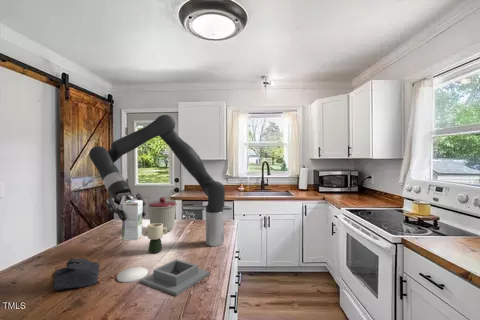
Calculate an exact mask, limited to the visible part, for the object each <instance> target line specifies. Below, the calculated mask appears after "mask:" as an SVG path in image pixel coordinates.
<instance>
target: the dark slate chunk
mask: <svg viewBox="0 0 480 320" xmlns="http://www.w3.org/2000/svg"><path fill="white" fill-rule="evenodd" d="M99 272H100V263H98V262H95V261H94V262H93V261H89V259H85V258H73V257H71V258H69V260H68V261H67V262H66V267H63V268H59V269H58V268H57V269H56V270H55V272H54V279H53V282H54V283H53V289H55V290H56V291H62V290H67V289H77V288H86V287H87V288H89V287H91V286H94V285H97V284H98V279H99V275H100V274H99Z"/></svg>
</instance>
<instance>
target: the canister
mask: <svg viewBox="0 0 480 320" xmlns="http://www.w3.org/2000/svg"><path fill="white" fill-rule="evenodd" d="M177 205H178V203H176V202H175V201H172V200H166V198H165V197H164V196H163V197H160V198H159V201H158V200H157V201H152V202H150V203H149V204H147V206H146V207H147V208H148V215H149V216H148V217H149V218H148V219H149V224H153V223H161V224H163V228H165V227H166V228H167V233H169V232H171V231H172V230H173V229H174V227H175V219H176V210H177ZM163 232H165V229H164V230H163Z"/></svg>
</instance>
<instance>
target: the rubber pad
mask: <svg viewBox="0 0 480 320" xmlns="http://www.w3.org/2000/svg"><path fill="white" fill-rule="evenodd" d="M147 276H149V269H147V268H145V267H140V266H139V267H132V268H131V267H130V268H126V269H124V270H122V271H119V273H118V274H117V275H116V280H117V281H118V282H120V283H125V284H126V283H128V284H129V283H134V282H140V279H143V278H145V277H147Z"/></svg>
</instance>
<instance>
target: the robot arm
mask: <svg viewBox="0 0 480 320" xmlns="http://www.w3.org/2000/svg"><path fill="white" fill-rule="evenodd" d="M175 127H176V121H175V119H174V118H173V116H171V115H168V114H162V115H159V116H158V117H157V118H156V119H154V120H153V121H152V122H151V123H149V124H148V125H145V126H144V127H142V128H140V129H138V130H136V131H134V132H131V133H129V134H126V135H125V136H122V137H120V138H119V139H115V141H113V142H111V143H110V146H111V147H110V149H109V150H107V148H106V147H103V146H101V145H96V146H94V147H91V148H90V150H89V153H88V156H89V159H90V160H91V162H92V163H93V165H94V166H95V168H96V170H97V171H98V173H99V176H100V178H101V180H102V182H103V184H104V187H105V189H106V190H107V192H108V195H109V197H107V199H106V201H105V204H106V206H107V208H108V211H109V213H110V214H112V215H113V214H116V215H117V216H118V217H119V219H120V220H121V222H122V221H125V220H126V219H127V217H126V215H125V213H124V211H123V203H124V202H126V201H128V200H142V201H143V209H142V218H144V217H145V216H146V214H147V210H145V208H144V207H145V205H146V204H147V203H146V201H145V200H144V199H143V198H144V197H142V195H141V194H140V193H136V194H133V193H132V190H131V188H130V185H128V183H127V181H126V180H125V177H124V176H123V175H122V174H121V172H120V170H119V169H118V167H117V166H116V164H115V163H116V162H117V161H118V160H119V159H120V158H121V157H122V156H124V155H126V154H127V153H129V152H132V151H134V150H135V149H137V148H139V147H140V146H143V144H145V143H147V142H148V141H150V140H153V139H154V138H157V137H160V138H161V140H163V141H164V142H165V144H167V146H168V147H169V148H170V150H171V151H172V152H173V154H174V155H175V157H176V158H177V159H178V160H179V162H180V163H181V165H182V166H183V167H184V168H185V170H187V172H188V174H190V175H191V176H192V177H193V178H194V179H195V181H196V182H197V183H198V184H199V187H200V188H201V190H202V192H203V193H204V194H205V196H207V205H206V206H205V245H207V246H209V247H218V246H222V245H223V244H224V242H225V225H224V208H225V197H226V196H225V194H226V193H225V192H226V190H225V186H224V184H223V182H222V183H221V182H220V181H215V179H214V178H213V177H212V176H211V175H210V174H209V172H208V171H207V169H206V168H205V165H204V162H203V160H202V159H201V157H200V155H199V154H198V153H197V152H196V150H195V149H194V148H193V147H192V146H191V145H190V144H189V143H188V142H186V141H184V140H183V139H182V138H181V137H180V136H179V135H178V133H177V132H176V130H175Z"/></svg>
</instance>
